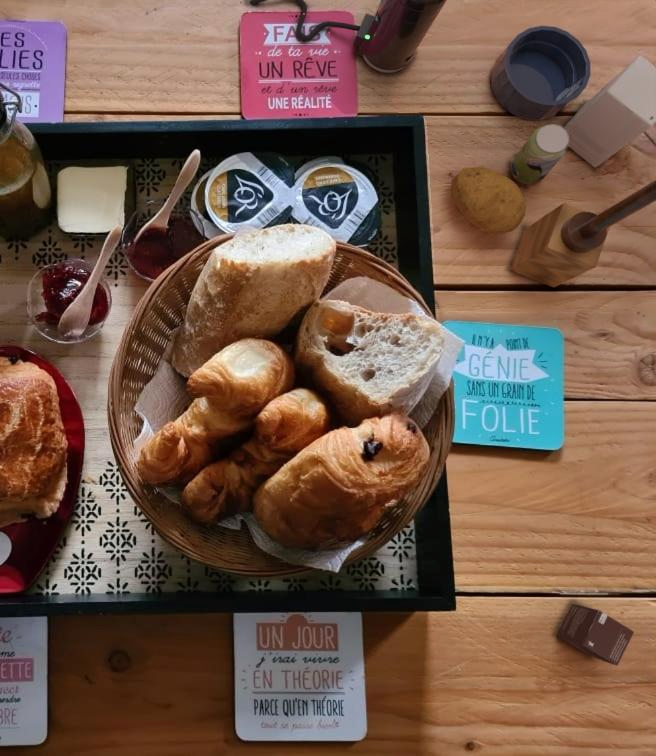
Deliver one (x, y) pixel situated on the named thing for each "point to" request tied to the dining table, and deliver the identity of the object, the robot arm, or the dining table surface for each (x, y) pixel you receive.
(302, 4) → the robot arm
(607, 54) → the dining table surface
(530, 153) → the beverage can
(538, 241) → the wooden block
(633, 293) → the dining table surface
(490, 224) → the potato
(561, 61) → the bowl
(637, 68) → the rectangular carton
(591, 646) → the box
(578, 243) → the brown rod with disc
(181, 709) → the dining table surface
